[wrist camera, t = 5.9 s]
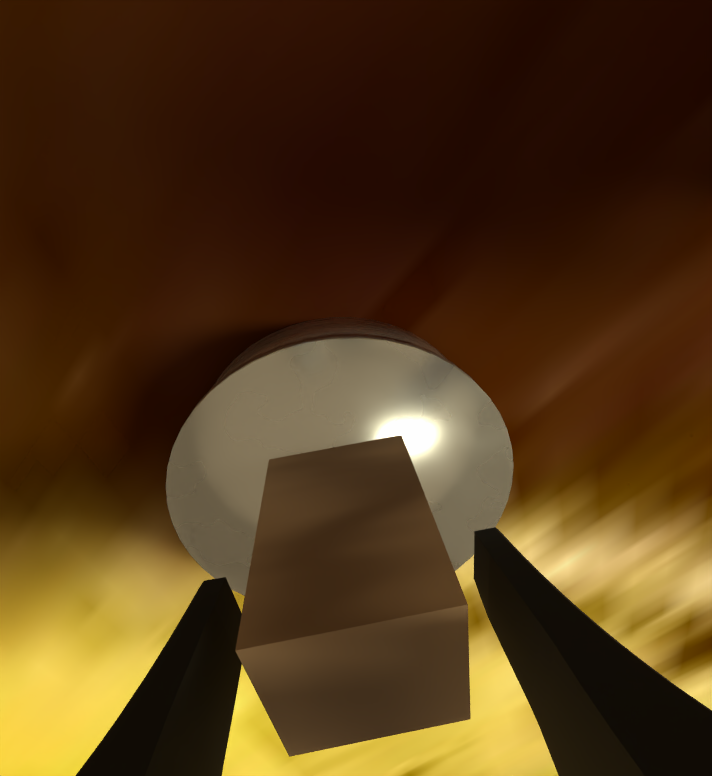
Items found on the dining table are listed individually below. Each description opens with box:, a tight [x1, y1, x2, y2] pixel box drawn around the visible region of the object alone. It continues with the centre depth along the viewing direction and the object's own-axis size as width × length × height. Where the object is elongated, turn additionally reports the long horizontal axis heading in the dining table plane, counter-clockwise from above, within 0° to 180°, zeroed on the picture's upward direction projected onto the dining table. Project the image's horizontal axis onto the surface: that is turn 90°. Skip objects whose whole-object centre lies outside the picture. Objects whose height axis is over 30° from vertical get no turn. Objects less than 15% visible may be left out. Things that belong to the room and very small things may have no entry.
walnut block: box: [235, 435, 470, 757], centre depth 11 cm, size 4×4×6 cm
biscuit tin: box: [166, 317, 513, 596], centre depth 15 cm, size 12×12×4 cm
